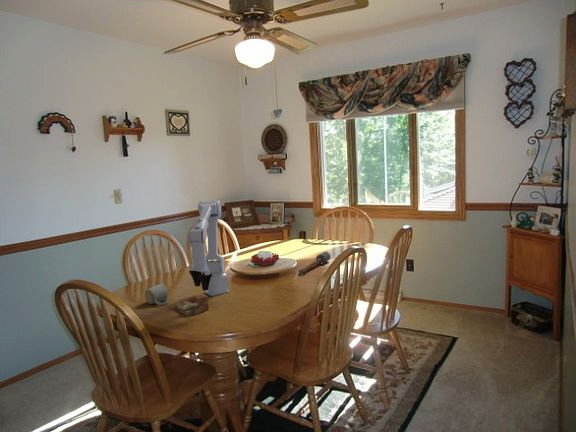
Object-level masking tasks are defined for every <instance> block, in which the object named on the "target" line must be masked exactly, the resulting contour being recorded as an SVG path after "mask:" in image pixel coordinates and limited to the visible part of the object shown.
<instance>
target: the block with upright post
mask: <svg viewBox="0 0 576 432" xmlns="http://www.w3.org/2000/svg"><path fill="white" fill-rule="evenodd" d="M194 297H195V298H194V299H195V302H193V303H192V304H189V305H185V306H183V308H184V309H188V308H192V307H195V306H197V307H199V308H201V313H202V312H205V311H209V310H210V309H209V296H208V295H206V293H205V294H204V293H203V294H199V295H195V296H194Z"/></svg>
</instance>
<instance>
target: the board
mask: <svg viewBox="0 0 576 432" xmlns="http://www.w3.org/2000/svg"><path fill="white" fill-rule="evenodd" d="M189 304H193V303H192V302H190V301H189V300H184V301H183V300H182V301H179V302H175V303H174V306H173V307H174V308H175V309H176V310H178V311H179V312H180V313H182V314H184V315H185V316H186V317H191V316H194V315H197V314H201V313H202V312H201V308H199V307H197V306H195V307H192V308H188V309H184V308H183V306H185V305H189Z"/></svg>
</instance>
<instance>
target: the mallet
mask: <svg viewBox="0 0 576 432" xmlns="http://www.w3.org/2000/svg"><path fill="white" fill-rule="evenodd" d="M330 259H331V254H330V253H329V252H328V251H323V252H322V253H320V254H318V255H316V257H315V260H314V261H313V262H311V263H309V264H308V265H307V266H305V267H304V268H303V267H302V268H301V269H299V270H298V275H300V274H303V275H305V274H306V273H307V272H308V271H309V270H312V268H314V267H316V266H317V265H320V264H319V263H322V264H321V265H325V264H326V263H327V262H328V261H330ZM325 262H326V263H325ZM304 273H305V274H304Z"/></svg>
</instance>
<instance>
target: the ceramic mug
mask: <svg viewBox="0 0 576 432" xmlns="http://www.w3.org/2000/svg"><path fill="white" fill-rule="evenodd" d="M144 299H145V301H146V302H147V303H148V304H150V305H152V304H153V305H154V304H155V305H158V306H165V305H167V304H168V303H169V292H168V288H167V287H166V286H165V285H164V284H163V283H159V284H157V285H154V286H152V287H150V288H148V289H146V290H145V291H144Z"/></svg>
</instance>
